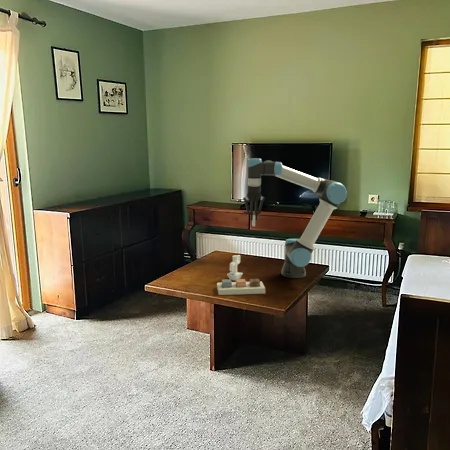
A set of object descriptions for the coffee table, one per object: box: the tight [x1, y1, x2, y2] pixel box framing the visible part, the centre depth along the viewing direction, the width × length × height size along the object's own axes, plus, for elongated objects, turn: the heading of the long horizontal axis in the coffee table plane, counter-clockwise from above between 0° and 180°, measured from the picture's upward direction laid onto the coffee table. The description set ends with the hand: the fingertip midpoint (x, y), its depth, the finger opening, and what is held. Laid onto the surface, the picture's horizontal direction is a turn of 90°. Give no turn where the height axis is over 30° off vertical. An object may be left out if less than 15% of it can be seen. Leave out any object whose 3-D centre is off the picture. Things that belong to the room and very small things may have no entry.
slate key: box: [221, 278, 233, 288], centre depth 250 cm, size 5×5×4 cm
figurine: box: [226, 254, 244, 282], centre depth 270 cm, size 7×9×15 cm
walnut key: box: [249, 278, 260, 287], centre depth 252 cm, size 5×5×4 cm
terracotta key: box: [235, 278, 247, 287], centre depth 251 cm, size 5×5×4 cm
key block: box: [216, 280, 266, 296], centre depth 251 cm, size 26×12×3 cm, turn 95°
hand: (253, 225), depth 259 cm, fingers closed
